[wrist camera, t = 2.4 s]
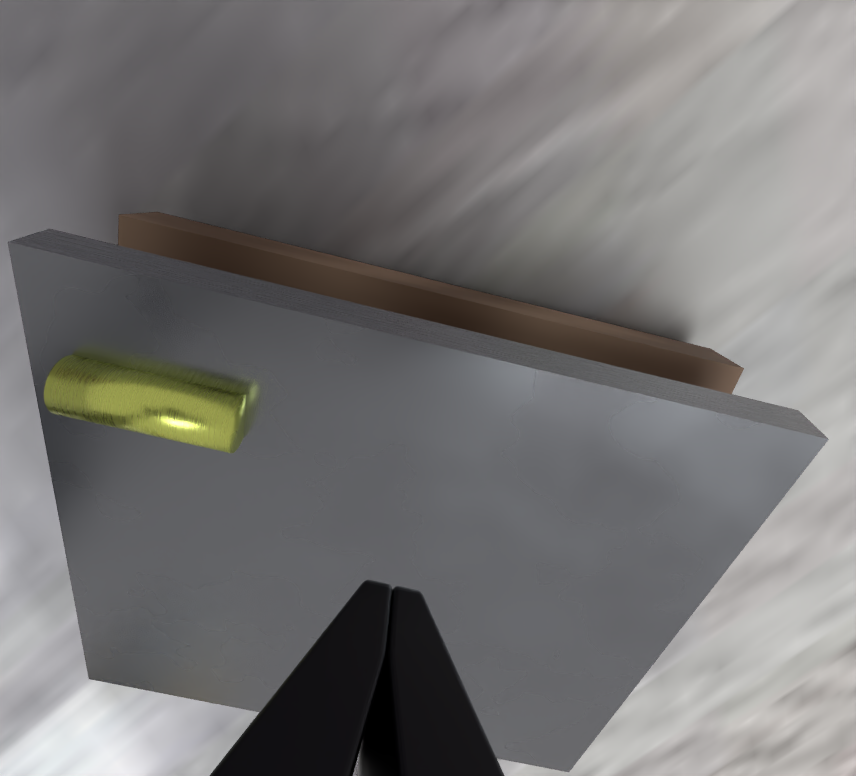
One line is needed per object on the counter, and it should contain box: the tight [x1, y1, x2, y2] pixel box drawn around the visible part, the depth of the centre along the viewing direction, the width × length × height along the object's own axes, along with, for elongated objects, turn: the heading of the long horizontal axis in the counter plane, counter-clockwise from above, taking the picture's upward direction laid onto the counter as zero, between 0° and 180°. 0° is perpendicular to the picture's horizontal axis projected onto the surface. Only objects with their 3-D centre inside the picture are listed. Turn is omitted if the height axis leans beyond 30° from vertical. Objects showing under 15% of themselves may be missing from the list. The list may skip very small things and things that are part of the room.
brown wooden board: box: [118, 212, 744, 394], centre depth 19 cm, size 18×16×3 cm
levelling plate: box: [8, 229, 828, 772], centre depth 15 cm, size 18×16×2 cm
